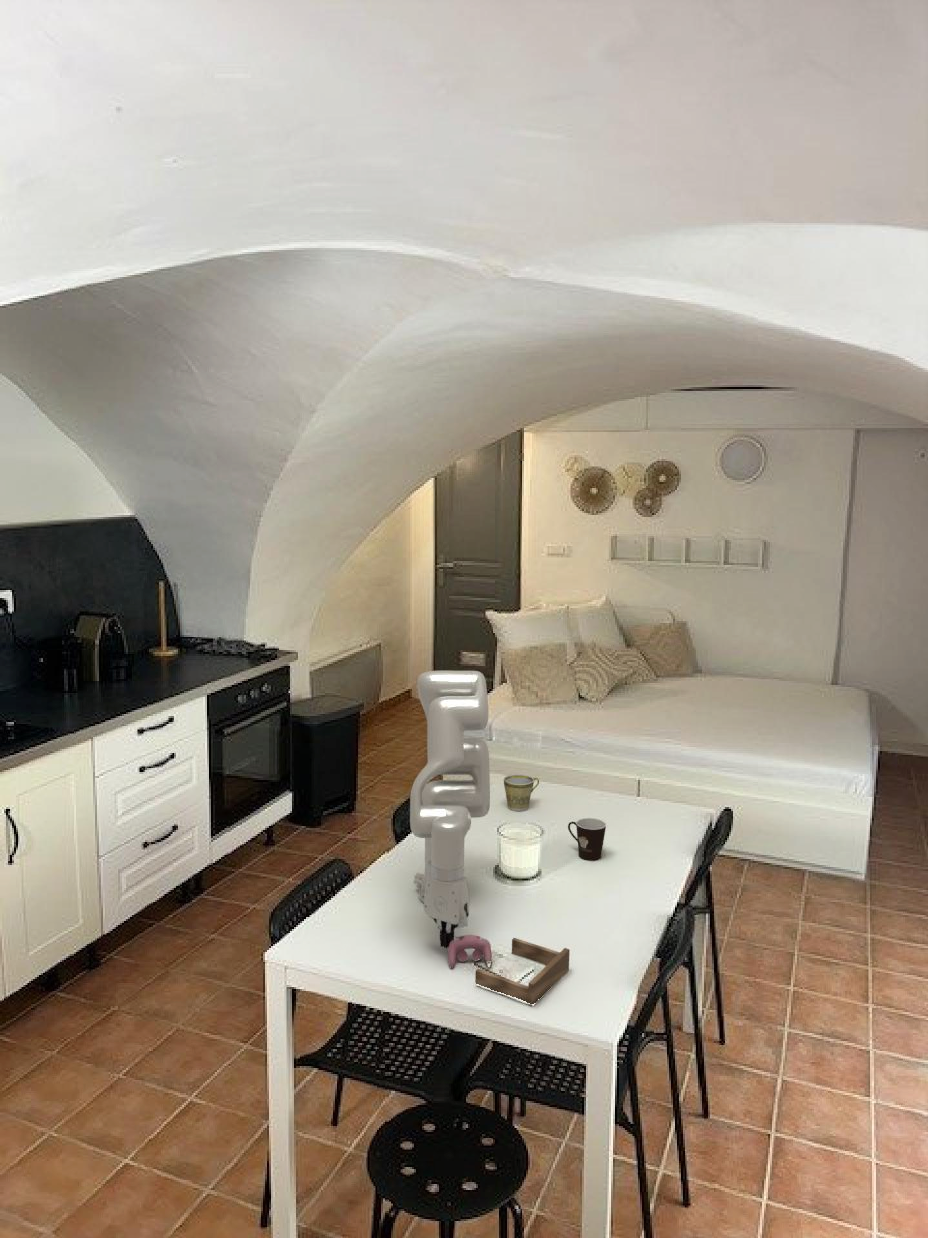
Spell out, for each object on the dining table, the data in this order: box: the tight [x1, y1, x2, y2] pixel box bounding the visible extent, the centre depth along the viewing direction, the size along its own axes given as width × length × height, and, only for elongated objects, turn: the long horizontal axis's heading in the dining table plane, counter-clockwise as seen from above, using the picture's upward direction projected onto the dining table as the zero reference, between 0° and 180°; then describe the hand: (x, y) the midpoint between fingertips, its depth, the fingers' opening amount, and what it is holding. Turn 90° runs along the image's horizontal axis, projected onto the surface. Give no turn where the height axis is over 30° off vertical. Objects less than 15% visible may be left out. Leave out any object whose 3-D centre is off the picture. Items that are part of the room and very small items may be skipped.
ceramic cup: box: [503, 773, 540, 813], centre depth 303 cm, size 13×10×10 cm
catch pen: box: [474, 937, 570, 1004], centre depth 202 cm, size 14×17×5 cm
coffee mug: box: [567, 817, 607, 862], centre depth 266 cm, size 12×9×10 cm
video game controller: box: [447, 934, 493, 969], centre depth 208 cm, size 10×5×7 cm, turn 93°
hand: (446, 945), depth 212 cm, fingers closed
